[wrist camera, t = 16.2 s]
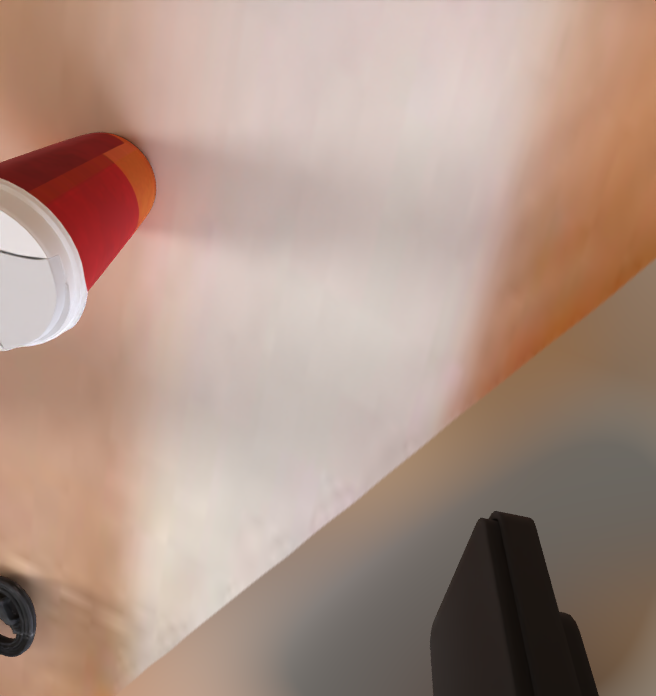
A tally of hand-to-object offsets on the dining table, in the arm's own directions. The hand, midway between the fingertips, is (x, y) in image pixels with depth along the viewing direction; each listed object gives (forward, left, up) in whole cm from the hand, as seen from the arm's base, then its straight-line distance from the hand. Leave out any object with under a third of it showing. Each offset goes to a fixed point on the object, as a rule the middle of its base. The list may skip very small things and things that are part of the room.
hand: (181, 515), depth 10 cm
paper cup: (-12, -5, -28) cm, 31 cm away
